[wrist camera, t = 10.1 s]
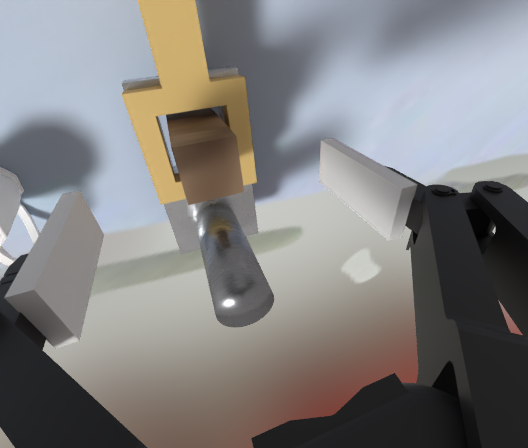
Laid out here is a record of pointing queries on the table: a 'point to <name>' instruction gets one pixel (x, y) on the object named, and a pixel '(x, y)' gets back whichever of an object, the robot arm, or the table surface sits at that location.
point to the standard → (221, 240)
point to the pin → (205, 155)
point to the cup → (12, 211)
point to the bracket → (183, 92)
